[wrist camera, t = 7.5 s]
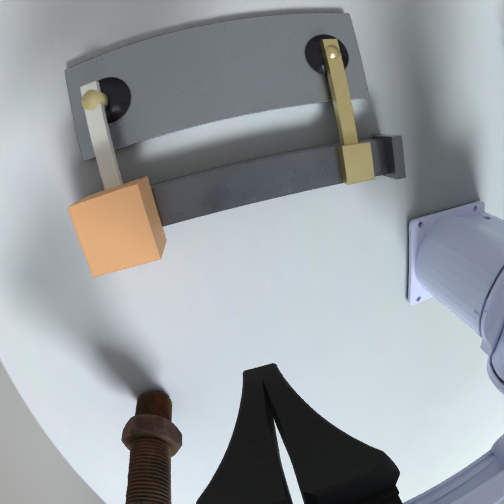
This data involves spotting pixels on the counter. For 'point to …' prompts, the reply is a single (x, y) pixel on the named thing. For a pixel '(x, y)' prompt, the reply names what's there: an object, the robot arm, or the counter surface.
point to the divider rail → (287, 164)
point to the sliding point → (114, 204)
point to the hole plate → (214, 75)
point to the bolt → (151, 449)
